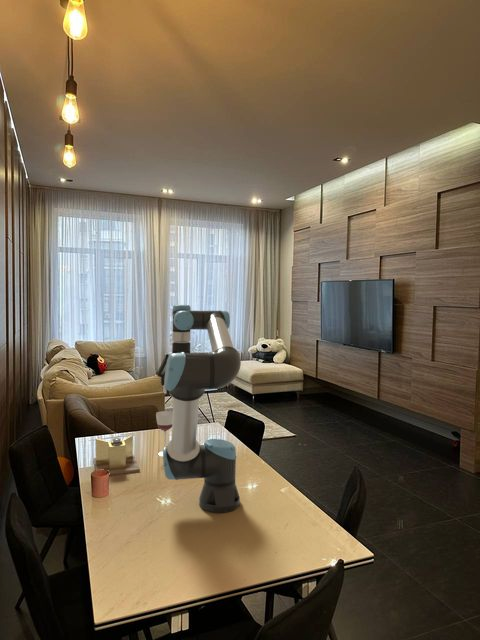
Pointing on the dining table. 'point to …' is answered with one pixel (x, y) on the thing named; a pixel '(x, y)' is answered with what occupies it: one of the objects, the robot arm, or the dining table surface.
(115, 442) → the pin
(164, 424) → the wineglass
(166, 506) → the dining table surface
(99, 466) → the board
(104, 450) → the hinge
